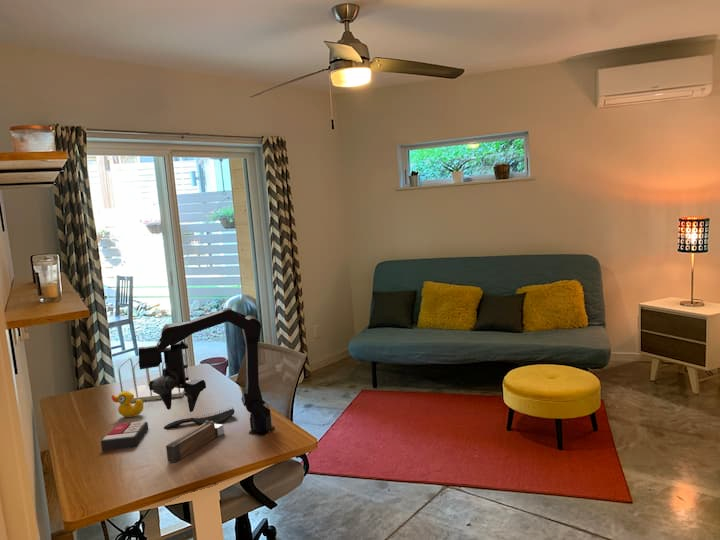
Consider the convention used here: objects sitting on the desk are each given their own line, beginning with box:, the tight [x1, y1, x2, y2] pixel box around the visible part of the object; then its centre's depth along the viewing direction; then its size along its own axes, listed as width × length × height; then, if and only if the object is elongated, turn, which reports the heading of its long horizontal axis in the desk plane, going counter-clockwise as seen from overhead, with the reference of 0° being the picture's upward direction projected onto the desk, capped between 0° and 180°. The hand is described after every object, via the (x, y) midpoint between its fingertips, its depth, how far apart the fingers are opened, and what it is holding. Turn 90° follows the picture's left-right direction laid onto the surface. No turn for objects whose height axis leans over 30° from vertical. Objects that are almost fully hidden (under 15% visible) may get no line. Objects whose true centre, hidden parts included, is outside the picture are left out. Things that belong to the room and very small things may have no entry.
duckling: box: [111, 390, 144, 418], centre depth 202 cm, size 11×5×10 cm, turn 91°
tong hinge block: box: [214, 423, 225, 438], centre depth 180 cm, size 4×3×3 cm
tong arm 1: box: [165, 420, 210, 463], centre depth 170 cm, size 1×19×6 cm, turn 156°
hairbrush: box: [163, 406, 235, 430], centre depth 191 cm, size 8×4×25 cm
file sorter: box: [117, 353, 192, 403], centre depth 226 cm, size 25×17×16 cm
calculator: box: [100, 420, 149, 452], centre depth 181 cm, size 11×4×15 cm
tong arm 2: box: [170, 421, 217, 463], centre depth 169 cm, size 1×19×6 cm, turn 155°
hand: (180, 410), depth 170 cm, fingers open, 9 cm apart
